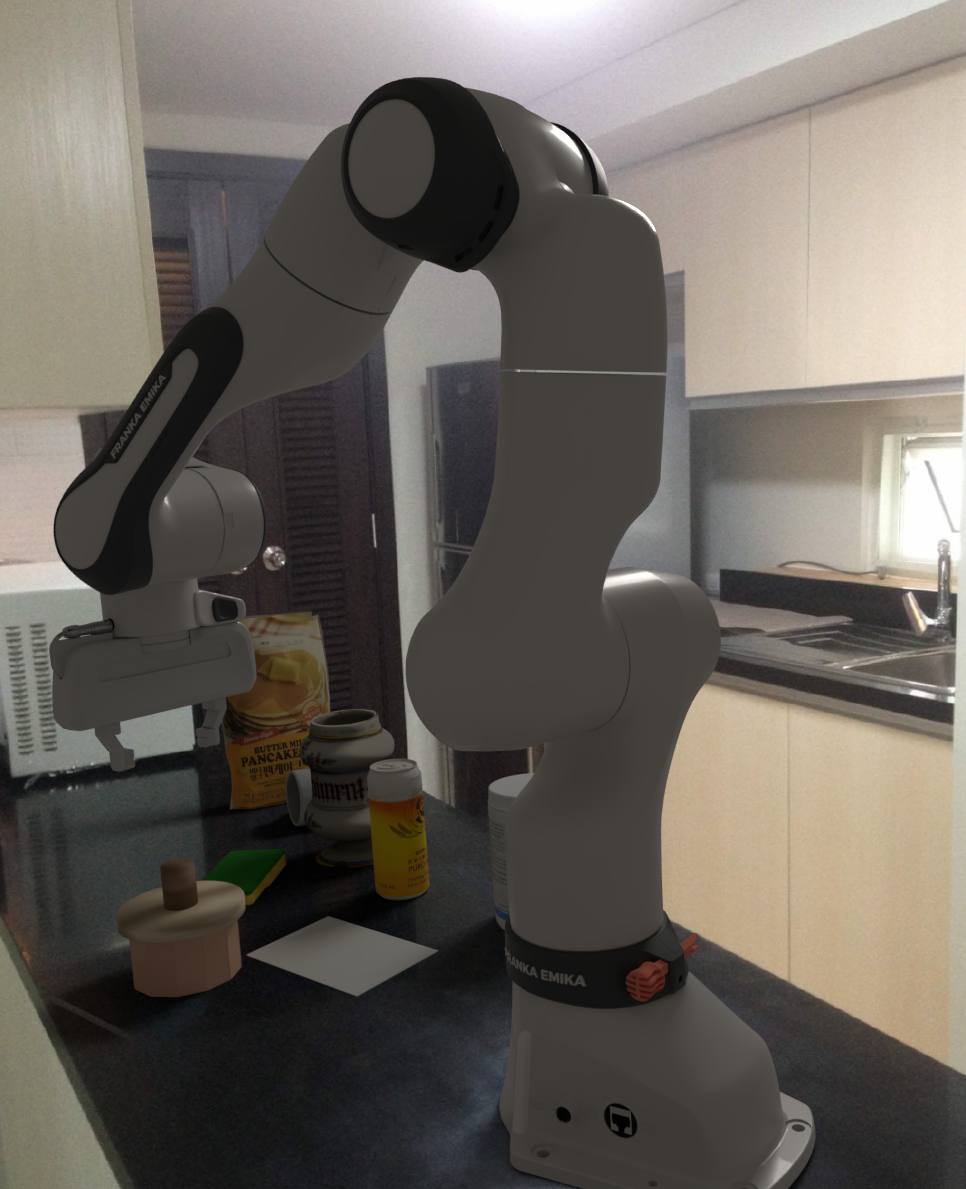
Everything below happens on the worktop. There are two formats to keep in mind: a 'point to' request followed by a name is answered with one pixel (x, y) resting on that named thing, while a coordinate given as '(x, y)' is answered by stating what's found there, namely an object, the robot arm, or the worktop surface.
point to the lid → (180, 907)
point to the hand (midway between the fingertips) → (167, 757)
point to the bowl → (186, 963)
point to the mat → (342, 955)
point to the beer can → (398, 829)
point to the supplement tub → (502, 836)
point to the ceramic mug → (298, 794)
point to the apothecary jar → (343, 782)
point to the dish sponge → (249, 870)
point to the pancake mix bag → (275, 707)
